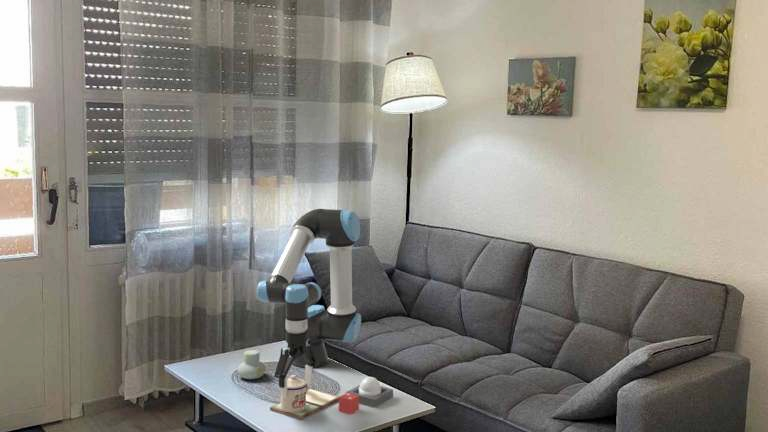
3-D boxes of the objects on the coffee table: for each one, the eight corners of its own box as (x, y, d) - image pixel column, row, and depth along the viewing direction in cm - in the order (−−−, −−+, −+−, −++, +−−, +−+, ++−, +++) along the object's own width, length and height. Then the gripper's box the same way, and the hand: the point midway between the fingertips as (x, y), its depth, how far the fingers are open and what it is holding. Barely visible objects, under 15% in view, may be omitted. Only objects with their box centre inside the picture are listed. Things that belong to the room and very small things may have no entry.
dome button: (366, 390, 273) (367, 372, 272) (385, 395, 269) (385, 376, 268) (354, 397, 266) (354, 378, 265) (372, 402, 262) (373, 383, 261)
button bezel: (365, 389, 276) (365, 382, 276) (392, 397, 269) (393, 389, 269) (346, 400, 266) (346, 392, 265) (374, 408, 259) (374, 399, 259)
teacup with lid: (294, 415, 248) (295, 382, 247) (274, 409, 253) (274, 376, 252) (317, 404, 258) (317, 372, 257) (297, 398, 263) (297, 366, 262)
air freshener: (253, 383, 280) (253, 357, 278) (234, 380, 283) (234, 354, 281) (268, 374, 290) (268, 349, 289) (249, 371, 293) (249, 346, 291)
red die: (347, 406, 260) (347, 392, 259) (358, 409, 258) (359, 395, 257) (338, 410, 256) (339, 396, 255) (350, 414, 253) (350, 399, 253)
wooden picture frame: (309, 390, 274) (309, 388, 273) (340, 399, 266) (340, 396, 266) (269, 410, 255) (269, 406, 255) (301, 419, 248) (301, 416, 248)
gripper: (281, 341, 240) (281, 404, 243) (327, 323, 260) (327, 381, 264) (263, 337, 244) (263, 398, 247) (310, 319, 264) (310, 376, 268)
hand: (296, 389), depth 255 cm, fingers open, 13 cm apart
